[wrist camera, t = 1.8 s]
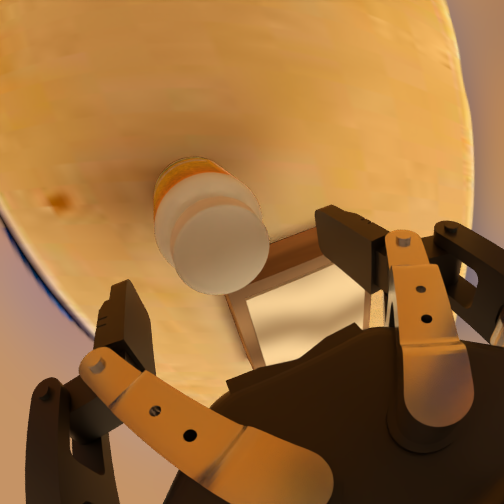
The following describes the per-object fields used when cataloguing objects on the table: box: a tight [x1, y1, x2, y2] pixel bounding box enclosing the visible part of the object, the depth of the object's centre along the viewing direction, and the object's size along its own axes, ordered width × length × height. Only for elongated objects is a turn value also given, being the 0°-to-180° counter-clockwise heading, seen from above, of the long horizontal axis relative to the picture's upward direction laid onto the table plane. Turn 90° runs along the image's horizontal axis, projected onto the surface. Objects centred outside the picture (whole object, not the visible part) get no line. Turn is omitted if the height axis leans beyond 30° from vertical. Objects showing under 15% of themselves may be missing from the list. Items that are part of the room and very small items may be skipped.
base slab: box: [225, 227, 371, 370], centre depth 25 cm, size 12×12×4 cm
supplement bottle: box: [153, 157, 269, 295], centre depth 16 cm, size 5×5×10 cm
